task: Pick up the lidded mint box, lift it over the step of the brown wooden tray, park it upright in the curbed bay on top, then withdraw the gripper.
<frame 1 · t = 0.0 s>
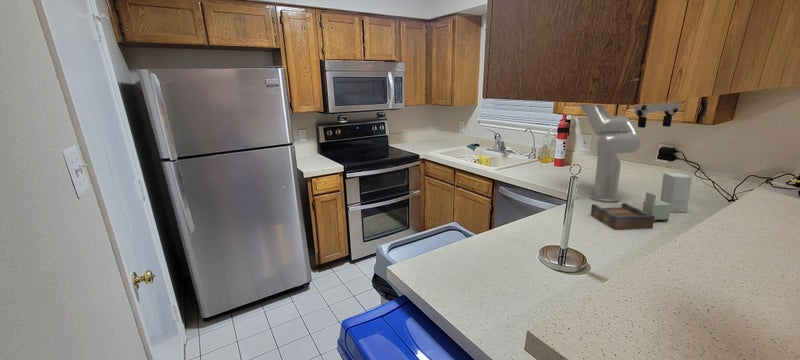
hand: (653, 126, 124), 37 cm above the table, tool pointing down, fingers open, 9 cm apart
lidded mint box: (654, 219, 128), on the table
brown wooden tray: (619, 221, 128), on the table
skincare box: (671, 209, 139), on the table
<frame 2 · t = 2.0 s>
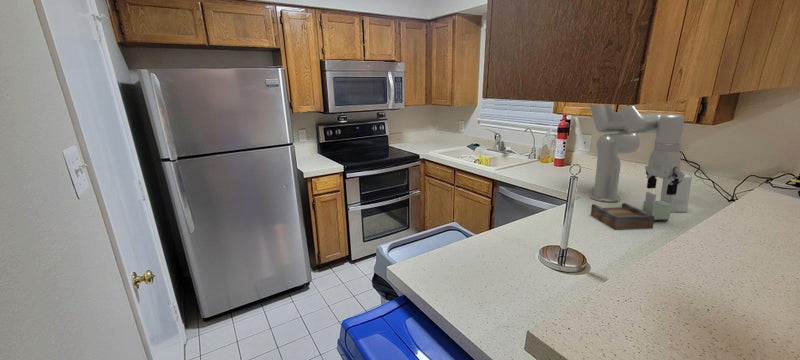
hand: (660, 191, 125), 12 cm above the table, tool pointing down, fingers open, 9 cm apart
nothing on the table moved.
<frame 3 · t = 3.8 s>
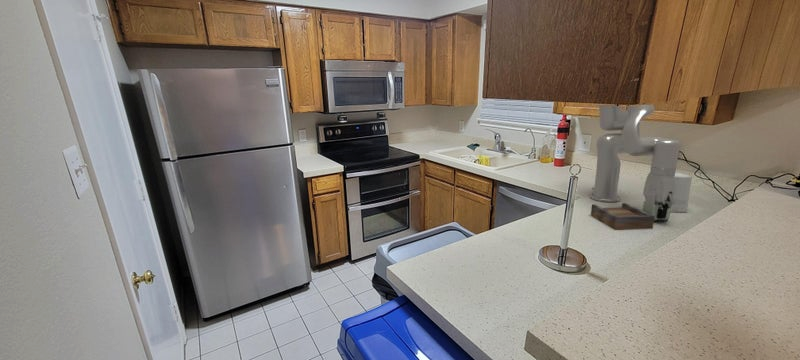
hand: (655, 215, 128), 2 cm above the table, tool pointing down, fingers closed on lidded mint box, 5 cm apart
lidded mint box: (654, 219, 128), on the table, touching gripper
everything else where it was.
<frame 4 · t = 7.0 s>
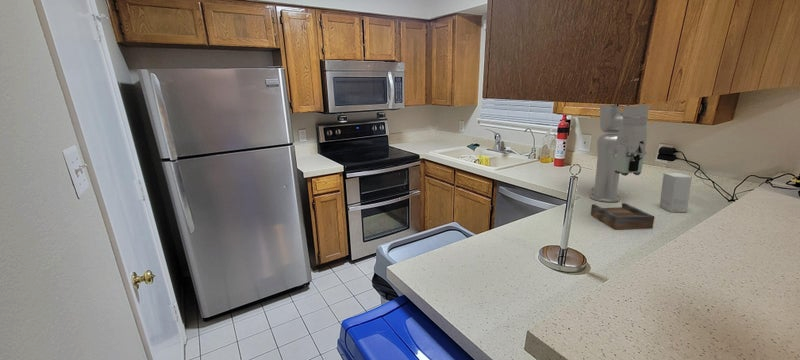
hand: (627, 169, 123), 21 cm above the table, tool pointing down, fingers closed on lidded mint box, 5 cm apart
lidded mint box: (627, 174, 123), point 19 cm above the table, touching gripper
everything else where it was.
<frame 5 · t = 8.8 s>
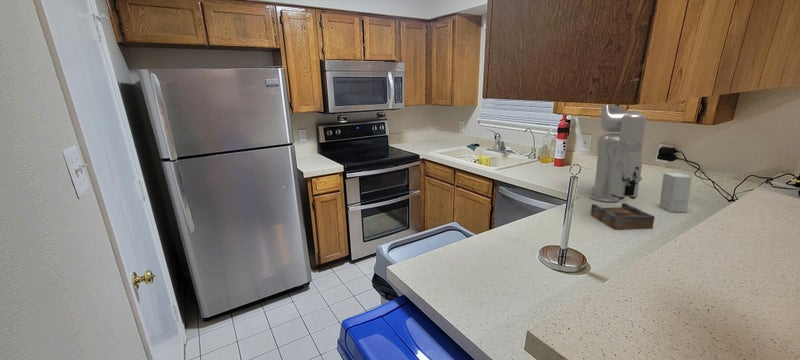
hand: (623, 193, 125), 12 cm above the table, tool pointing down, fingers closed on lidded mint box, 5 cm apart
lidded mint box: (623, 197, 126), point 10 cm above the table, touching gripper
everything else where it was.
when the fingers open (6 cm above the table, at t = 10.3 s): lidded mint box drops 1 cm, resting on brown wooden tray.
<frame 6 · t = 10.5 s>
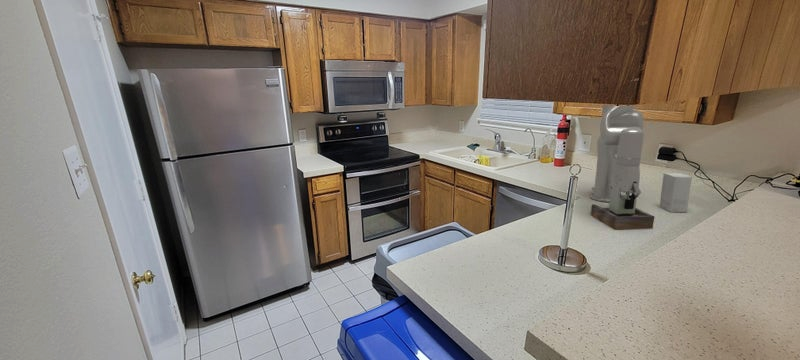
hand: (621, 205, 127), 7 cm above the table, tool pointing down, fingers open, 7 cm apart
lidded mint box: (620, 214, 127), point 3 cm above the table, touching brown wooden tray
everything else where it was.
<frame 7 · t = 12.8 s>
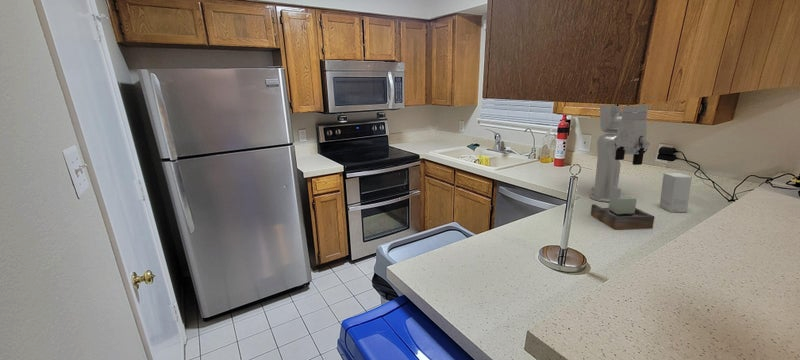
hand: (627, 162, 122), 24 cm above the table, tool pointing down, fingers open, 9 cm apart
nothing on the table moved.
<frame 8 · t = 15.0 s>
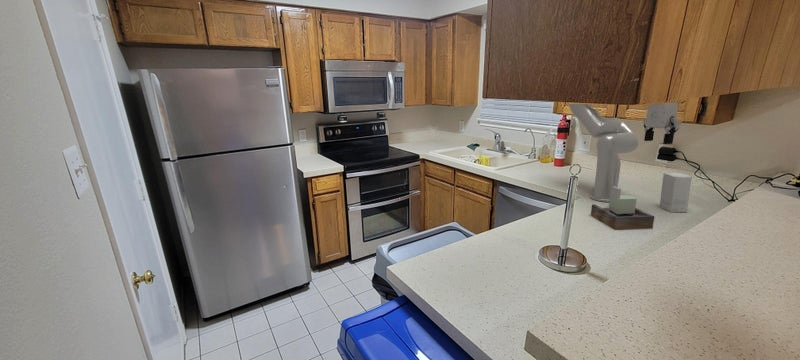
hand: (657, 142, 128), 30 cm above the table, tool pointing down, fingers open, 9 cm apart
nothing on the table moved.
at the end: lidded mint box inside the target area on the brown wooden tray (0.1 cm from its centre), point 3.0 cm above the brown wooden tray's base; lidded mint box tilted 0°; the gripper is holding nothing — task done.
